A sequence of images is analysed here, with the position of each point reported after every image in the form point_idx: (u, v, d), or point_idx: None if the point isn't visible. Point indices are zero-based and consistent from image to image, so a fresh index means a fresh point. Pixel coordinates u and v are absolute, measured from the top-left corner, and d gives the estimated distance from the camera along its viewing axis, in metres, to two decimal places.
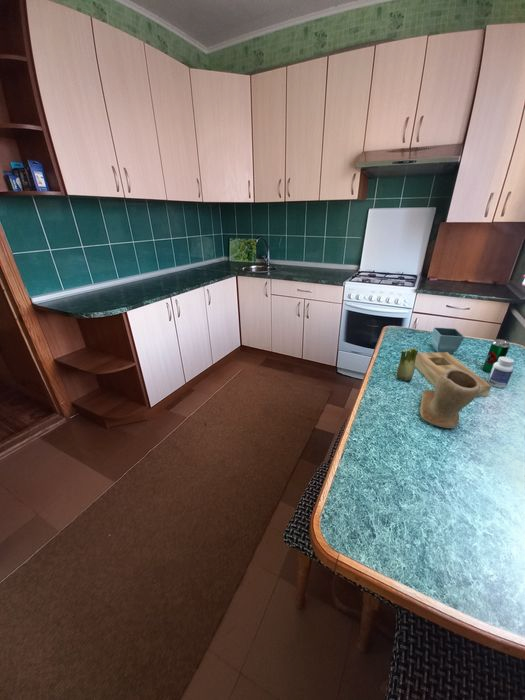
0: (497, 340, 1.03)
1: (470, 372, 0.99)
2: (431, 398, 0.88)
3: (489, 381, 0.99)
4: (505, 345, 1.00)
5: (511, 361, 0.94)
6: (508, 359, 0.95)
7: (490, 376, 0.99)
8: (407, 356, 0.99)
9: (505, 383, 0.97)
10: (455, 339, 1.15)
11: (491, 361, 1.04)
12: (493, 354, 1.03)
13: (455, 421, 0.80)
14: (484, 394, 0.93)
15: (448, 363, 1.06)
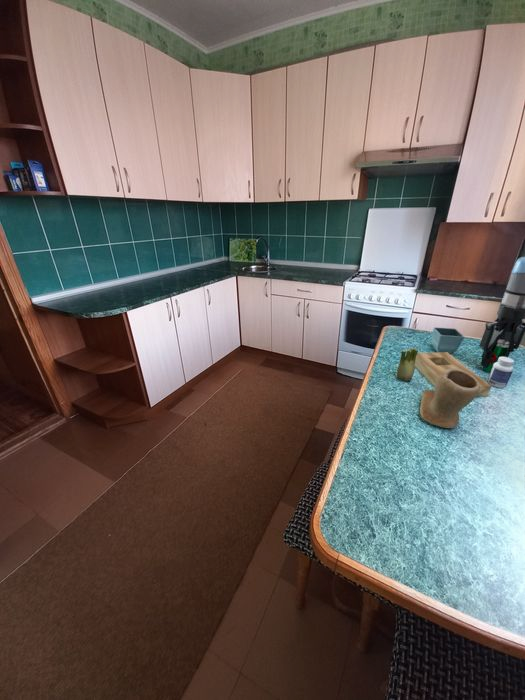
0: None
1: (470, 372, 0.99)
2: (431, 398, 0.88)
3: (489, 381, 0.99)
4: (505, 345, 1.00)
5: (511, 361, 0.94)
6: (508, 359, 0.95)
7: (490, 376, 0.99)
8: (407, 356, 0.99)
9: (505, 383, 0.97)
10: (455, 339, 1.15)
11: (491, 361, 1.04)
12: (493, 354, 1.03)
13: (455, 421, 0.80)
14: (484, 394, 0.93)
15: (448, 363, 1.06)
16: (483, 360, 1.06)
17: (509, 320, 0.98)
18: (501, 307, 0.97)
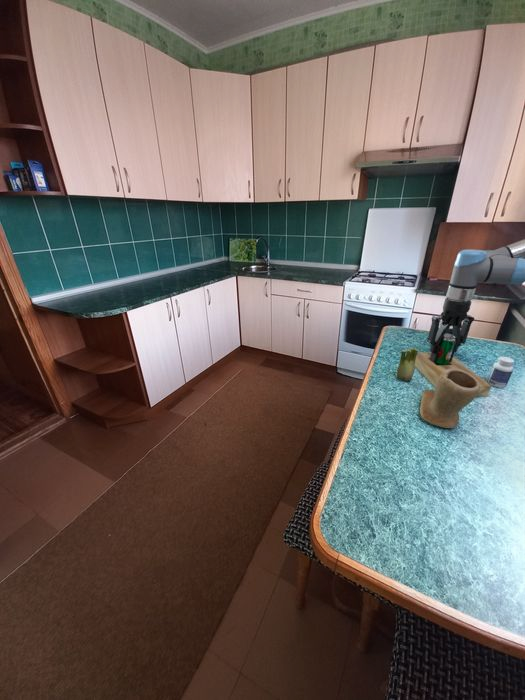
0: (444, 334, 1.03)
1: (470, 372, 0.99)
2: (431, 398, 0.88)
3: (489, 381, 0.99)
4: (451, 339, 1.00)
5: (511, 361, 0.94)
6: (508, 359, 0.95)
7: (490, 376, 0.99)
8: (407, 356, 0.99)
9: (505, 383, 0.97)
10: None
11: (439, 355, 1.04)
12: (440, 348, 1.03)
13: (455, 421, 0.80)
14: (484, 394, 0.93)
15: None
16: (432, 355, 1.06)
17: (454, 314, 0.97)
18: (445, 301, 0.97)
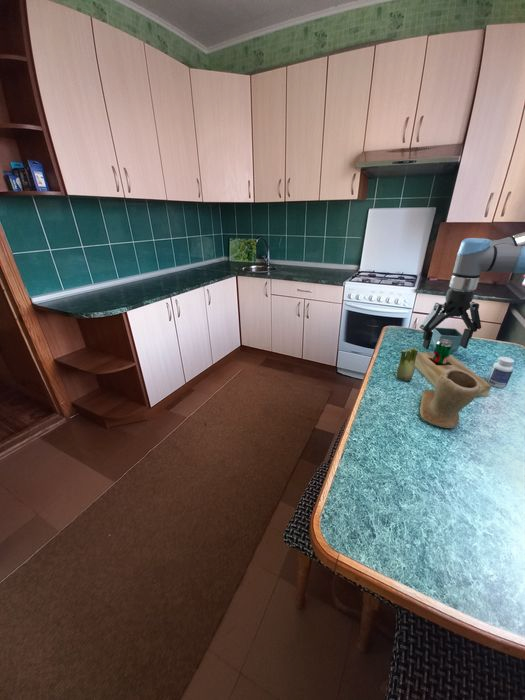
0: (441, 340, 1.04)
1: (470, 372, 0.99)
2: (431, 398, 0.88)
3: (489, 381, 0.99)
4: (447, 345, 1.02)
5: (511, 361, 0.94)
6: (508, 359, 0.95)
7: (490, 376, 0.99)
8: (407, 356, 0.99)
9: (505, 383, 0.97)
10: (456, 339, 1.15)
11: (436, 360, 1.05)
12: (437, 353, 1.04)
13: (455, 421, 0.80)
14: (484, 394, 0.93)
15: (448, 363, 1.06)
16: (425, 341, 1.03)
17: (456, 304, 0.96)
18: (448, 291, 0.95)
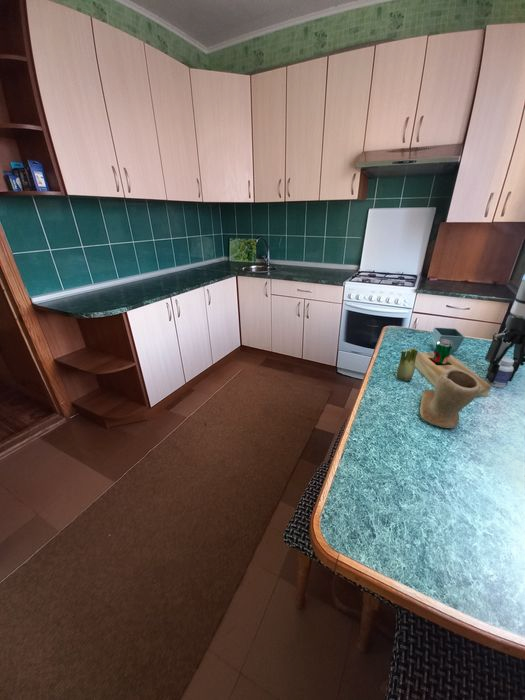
0: (441, 340, 1.04)
1: (470, 372, 0.99)
2: (431, 398, 0.88)
3: (489, 381, 0.99)
4: (447, 345, 1.01)
5: (511, 361, 0.94)
6: (508, 359, 0.95)
7: None
8: (407, 356, 0.99)
9: (505, 383, 0.97)
10: (456, 339, 1.15)
11: (436, 360, 1.05)
12: (437, 353, 1.04)
13: (455, 421, 0.80)
14: (484, 394, 0.93)
15: (448, 363, 1.06)
16: (489, 374, 0.98)
17: (519, 331, 0.90)
18: (510, 317, 0.89)
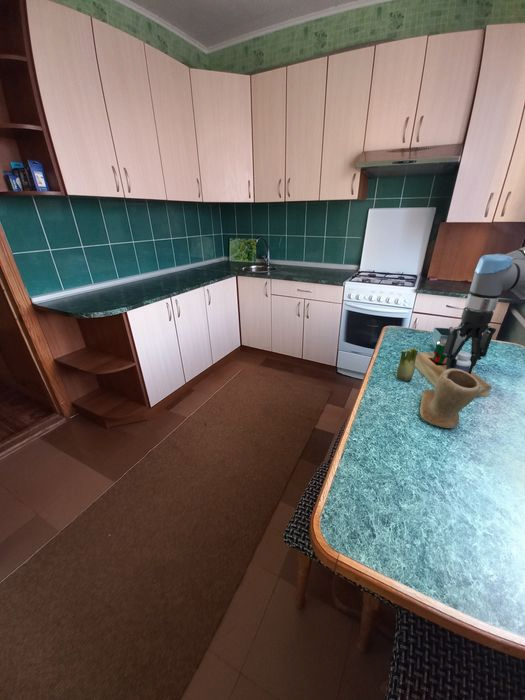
0: (441, 340, 1.04)
1: None
2: (431, 398, 0.88)
3: None
4: None
5: (468, 355, 0.93)
6: (465, 353, 0.94)
7: None
8: (407, 356, 0.99)
9: None
10: (456, 339, 1.15)
11: (436, 360, 1.05)
12: (437, 353, 1.04)
13: (455, 421, 0.80)
14: (484, 394, 0.93)
15: None
16: (448, 368, 0.97)
17: (473, 325, 0.88)
18: (464, 310, 0.88)
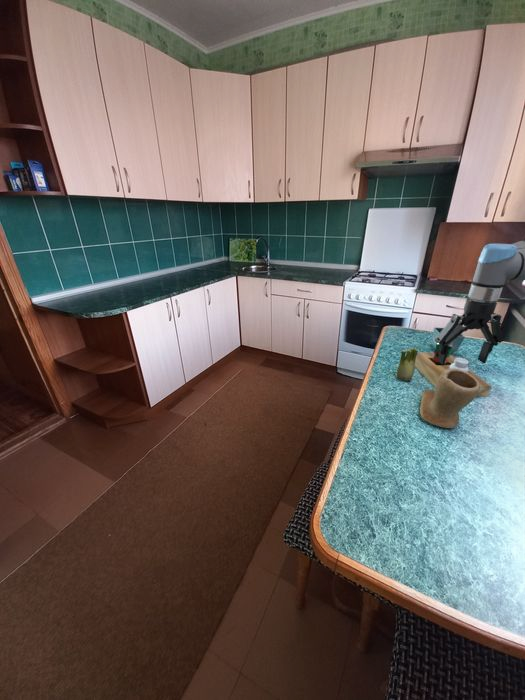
0: None
1: (470, 372, 0.99)
2: (431, 398, 0.88)
3: None
4: None
5: (466, 362, 0.94)
6: (463, 360, 0.95)
7: None
8: (407, 356, 0.99)
9: None
10: (456, 339, 1.15)
11: (436, 360, 1.05)
12: (437, 353, 1.04)
13: (455, 421, 0.80)
14: (484, 394, 0.93)
15: (448, 363, 1.06)
16: (440, 356, 0.95)
17: (476, 316, 0.87)
18: (467, 301, 0.87)
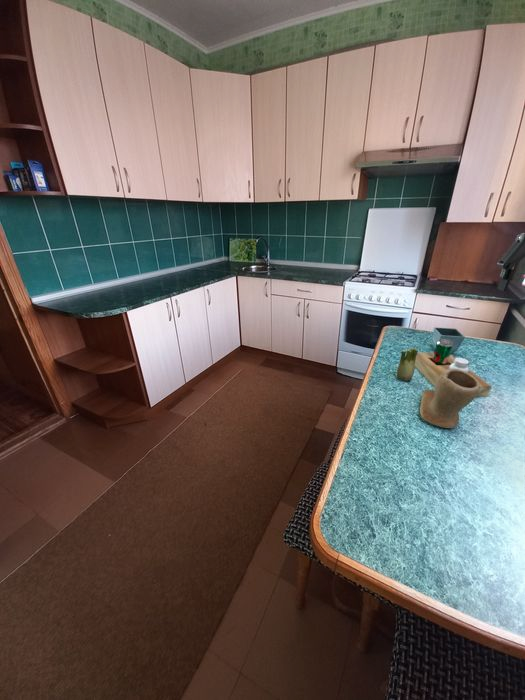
0: (441, 340, 1.04)
1: (470, 372, 0.99)
2: (431, 398, 0.88)
3: None
4: (447, 345, 1.01)
5: (466, 362, 0.94)
6: (463, 360, 0.95)
7: None
8: (407, 356, 0.99)
9: None
10: (456, 339, 1.15)
11: (436, 360, 1.05)
12: (437, 353, 1.04)
13: (455, 421, 0.80)
14: (484, 394, 0.93)
15: (448, 363, 1.06)
16: (502, 282, 0.89)
17: None
18: None
